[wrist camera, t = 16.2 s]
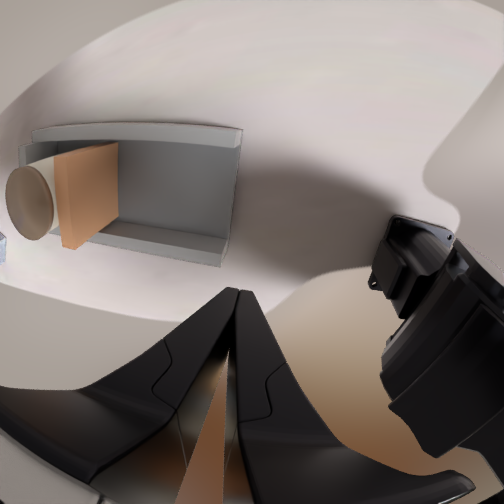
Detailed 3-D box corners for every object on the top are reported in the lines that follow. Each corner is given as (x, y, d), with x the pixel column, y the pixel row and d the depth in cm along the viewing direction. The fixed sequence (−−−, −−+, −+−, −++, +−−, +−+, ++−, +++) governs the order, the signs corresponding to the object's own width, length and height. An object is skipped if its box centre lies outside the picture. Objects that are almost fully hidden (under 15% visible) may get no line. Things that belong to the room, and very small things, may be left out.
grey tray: (243, 129, 17) (231, 132, 13) (227, 247, 22) (215, 280, 18) (54, 126, 18) (18, 134, 14) (59, 218, 22) (28, 239, 18)
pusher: (118, 142, 18) (66, 156, 12) (118, 216, 20) (75, 249, 15) (105, 142, 18) (53, 156, 12) (106, 214, 20) (62, 246, 15)
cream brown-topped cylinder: (62, 148, 18) (2, 168, 12) (106, 147, 18) (43, 167, 12) (65, 202, 20) (11, 235, 14) (107, 207, 20) (53, 245, 14)
